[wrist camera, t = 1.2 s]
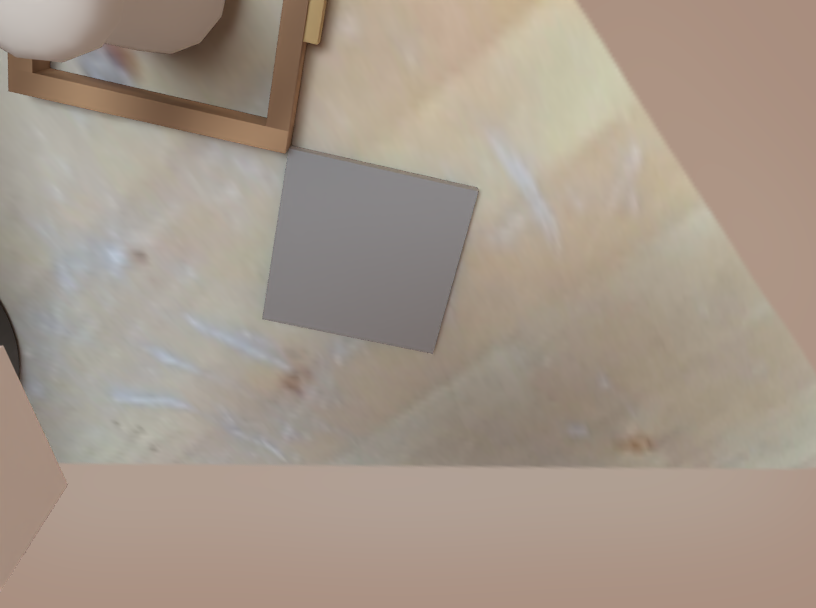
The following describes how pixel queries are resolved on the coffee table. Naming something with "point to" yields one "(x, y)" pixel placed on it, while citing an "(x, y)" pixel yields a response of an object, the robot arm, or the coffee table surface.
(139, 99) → the brown wooden frame
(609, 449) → the coffee table surface
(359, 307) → the coaster
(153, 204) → the coffee table surface
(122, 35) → the salt shaker
